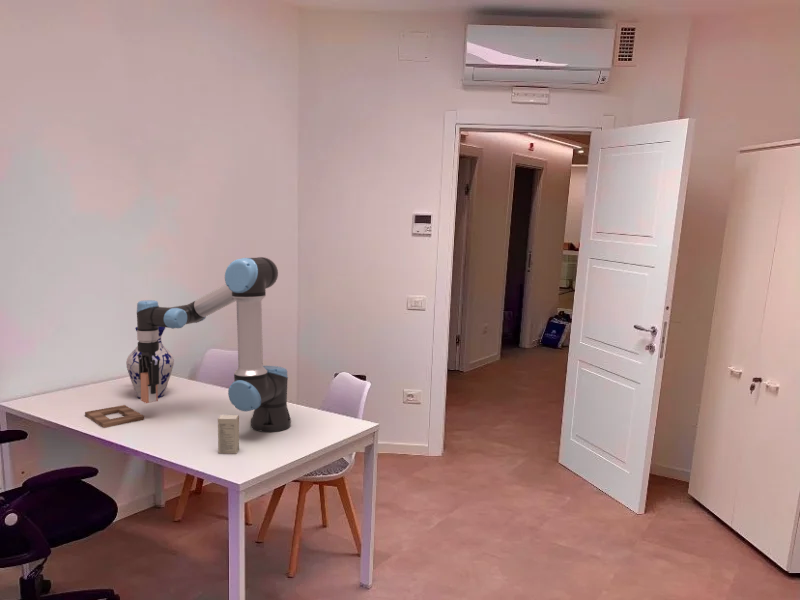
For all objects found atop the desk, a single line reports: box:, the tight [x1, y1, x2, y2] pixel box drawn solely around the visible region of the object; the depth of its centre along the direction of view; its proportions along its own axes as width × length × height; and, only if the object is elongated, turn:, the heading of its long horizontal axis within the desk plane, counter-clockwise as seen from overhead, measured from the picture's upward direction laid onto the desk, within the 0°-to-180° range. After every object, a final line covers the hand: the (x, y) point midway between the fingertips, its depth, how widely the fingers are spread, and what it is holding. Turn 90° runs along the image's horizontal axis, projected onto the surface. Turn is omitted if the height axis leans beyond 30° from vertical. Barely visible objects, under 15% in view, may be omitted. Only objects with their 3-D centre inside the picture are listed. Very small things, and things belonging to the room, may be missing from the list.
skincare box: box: [217, 414, 240, 455], centre depth 203 cm, size 6×4×12 cm
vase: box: [126, 326, 175, 400], centre depth 260 cm, size 19×19×30 cm
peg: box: [140, 372, 159, 404], centre depth 232 cm, size 4×4×11 cm
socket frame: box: [84, 404, 145, 429], centre depth 231 cm, size 18×15×2 cm
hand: (149, 400), depth 233 cm, fingers closed on peg, 4 cm apart
